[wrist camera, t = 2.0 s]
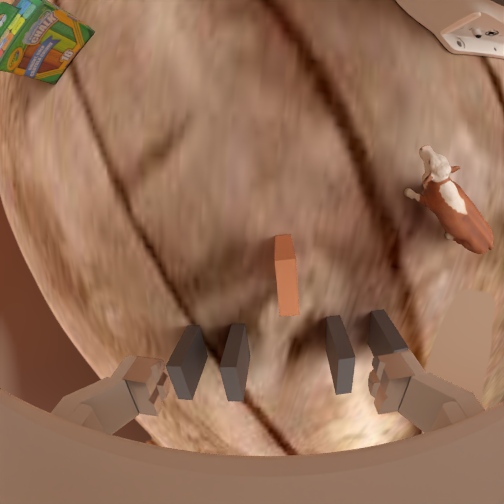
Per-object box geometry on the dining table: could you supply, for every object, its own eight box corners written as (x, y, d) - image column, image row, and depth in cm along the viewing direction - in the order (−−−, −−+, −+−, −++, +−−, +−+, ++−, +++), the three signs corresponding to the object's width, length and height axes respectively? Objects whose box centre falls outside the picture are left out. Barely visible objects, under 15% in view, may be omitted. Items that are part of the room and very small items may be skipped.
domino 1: (199, 325, 33) (180, 366, 25) (207, 356, 34) (192, 399, 26) (187, 325, 33) (165, 366, 25) (195, 356, 34) (178, 398, 27)
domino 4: (339, 315, 31) (355, 357, 23) (338, 348, 32) (351, 392, 24) (326, 316, 31) (338, 359, 23) (326, 349, 32) (335, 394, 25)
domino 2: (245, 323, 32) (236, 367, 24) (250, 355, 33) (243, 401, 26) (231, 324, 32) (219, 367, 25) (237, 356, 34) (228, 401, 26)
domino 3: (290, 234, 29) (295, 258, 21) (294, 278, 30) (299, 314, 22) (275, 235, 29) (274, 260, 21) (279, 279, 30) (279, 316, 22)
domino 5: (383, 309, 30) (408, 347, 22) (379, 342, 31) (400, 383, 24) (371, 311, 30) (393, 350, 23) (368, 344, 32) (386, 386, 24)
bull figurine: (402, 141, 25) (443, 136, 17) (468, 225, 26) (510, 243, 18) (379, 170, 26) (415, 173, 18) (448, 252, 27) (487, 276, 20)
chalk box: (55, 85, 25) (-26, 70, 11) (34, 61, 24) (-35, 45, 10) (98, 31, 23) (25, -9, 9) (71, 12, 21) (8, -19, 7)
